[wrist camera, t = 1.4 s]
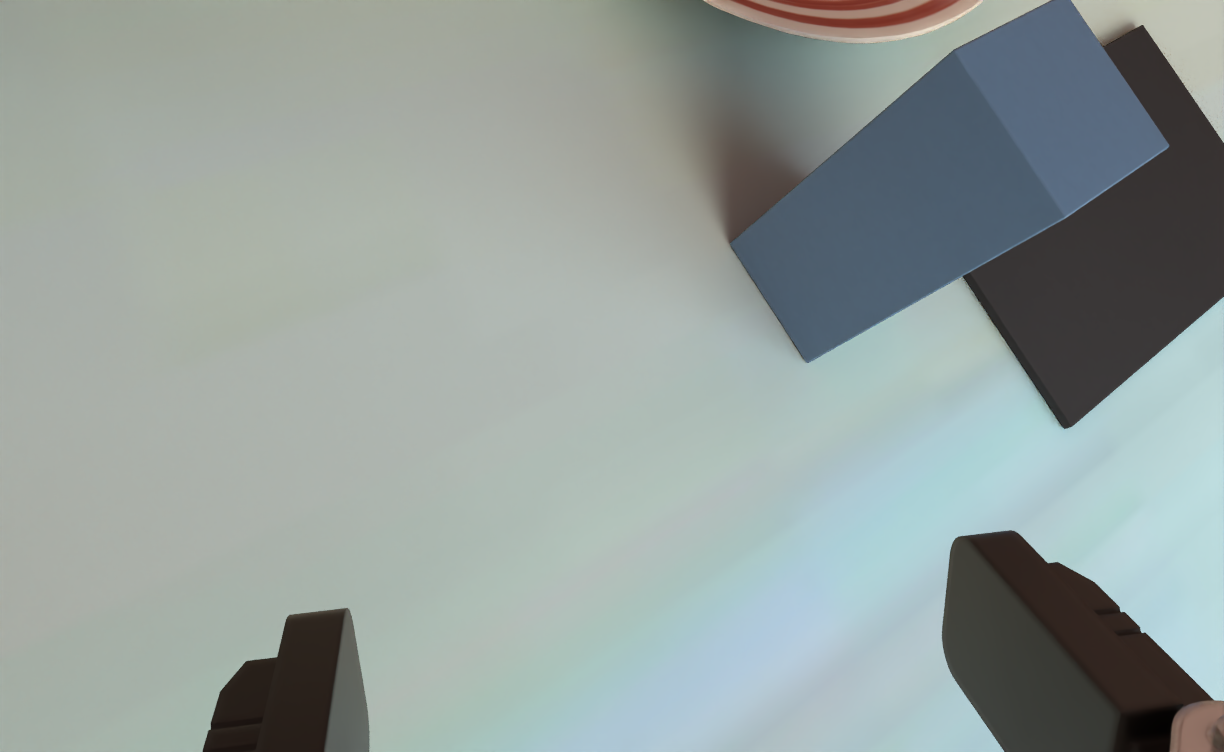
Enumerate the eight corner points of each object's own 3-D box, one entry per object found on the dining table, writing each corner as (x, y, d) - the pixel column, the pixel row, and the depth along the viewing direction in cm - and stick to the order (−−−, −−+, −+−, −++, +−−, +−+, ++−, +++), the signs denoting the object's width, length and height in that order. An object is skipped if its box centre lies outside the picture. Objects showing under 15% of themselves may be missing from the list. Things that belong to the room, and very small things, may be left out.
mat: (891, 168, 40) (897, 163, 40) (1136, 29, 48) (1143, 24, 48) (1064, 429, 39) (1072, 426, 39) (1282, 243, 48) (1290, 240, 47)
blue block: (728, 243, 36) (953, 49, 26) (824, 190, 39) (1066, -8, 28) (806, 363, 36) (1066, 217, 25) (897, 303, 38) (1171, 145, 28)
